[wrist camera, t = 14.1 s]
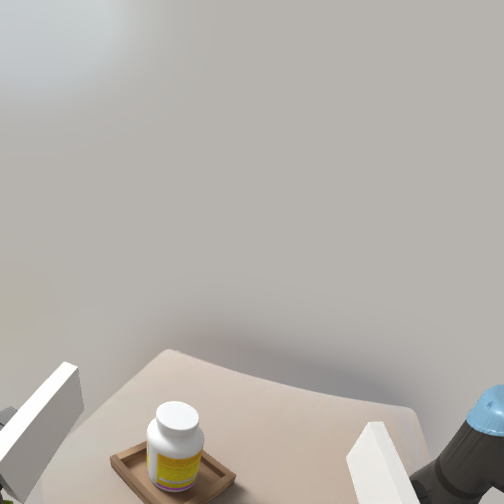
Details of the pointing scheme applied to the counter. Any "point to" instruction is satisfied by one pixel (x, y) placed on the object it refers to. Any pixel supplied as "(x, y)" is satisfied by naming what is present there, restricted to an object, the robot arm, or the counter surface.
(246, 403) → the counter surface
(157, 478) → the supplement bottle
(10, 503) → the green leafy cluster
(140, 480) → the walnut tray
